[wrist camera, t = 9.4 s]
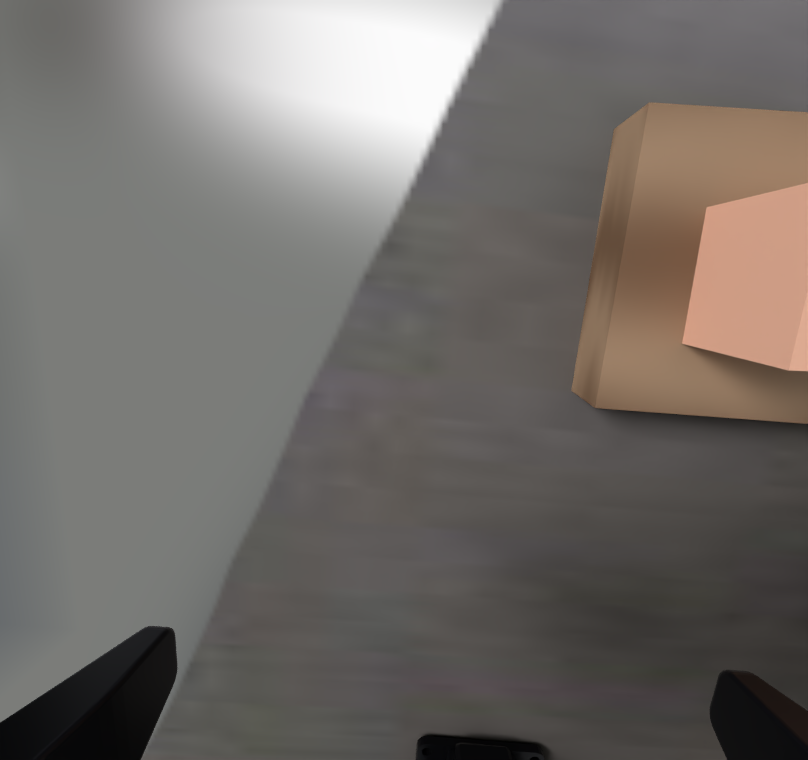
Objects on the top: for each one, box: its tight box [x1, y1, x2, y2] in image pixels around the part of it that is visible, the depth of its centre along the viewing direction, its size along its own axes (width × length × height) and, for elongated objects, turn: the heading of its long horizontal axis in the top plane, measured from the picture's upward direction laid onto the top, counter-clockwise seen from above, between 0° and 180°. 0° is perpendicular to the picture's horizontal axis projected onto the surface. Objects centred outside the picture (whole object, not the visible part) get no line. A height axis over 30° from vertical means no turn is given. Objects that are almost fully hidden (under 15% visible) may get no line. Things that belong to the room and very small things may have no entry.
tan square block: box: [572, 103, 808, 424], centre depth 16 cm, size 10×10×3 cm
